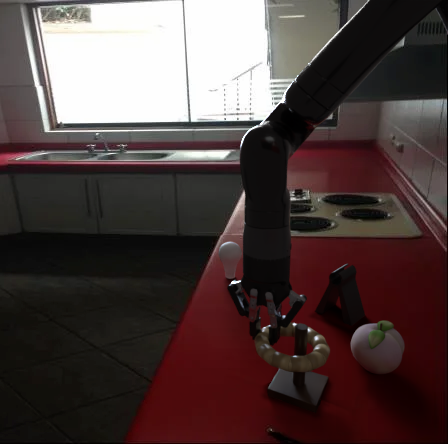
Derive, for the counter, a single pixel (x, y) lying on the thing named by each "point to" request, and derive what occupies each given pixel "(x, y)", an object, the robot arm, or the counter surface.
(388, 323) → the decorative fruit
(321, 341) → the beige segmented ring
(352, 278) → the phone stand
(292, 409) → the counter surface
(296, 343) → the post
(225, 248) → the lightbulb
